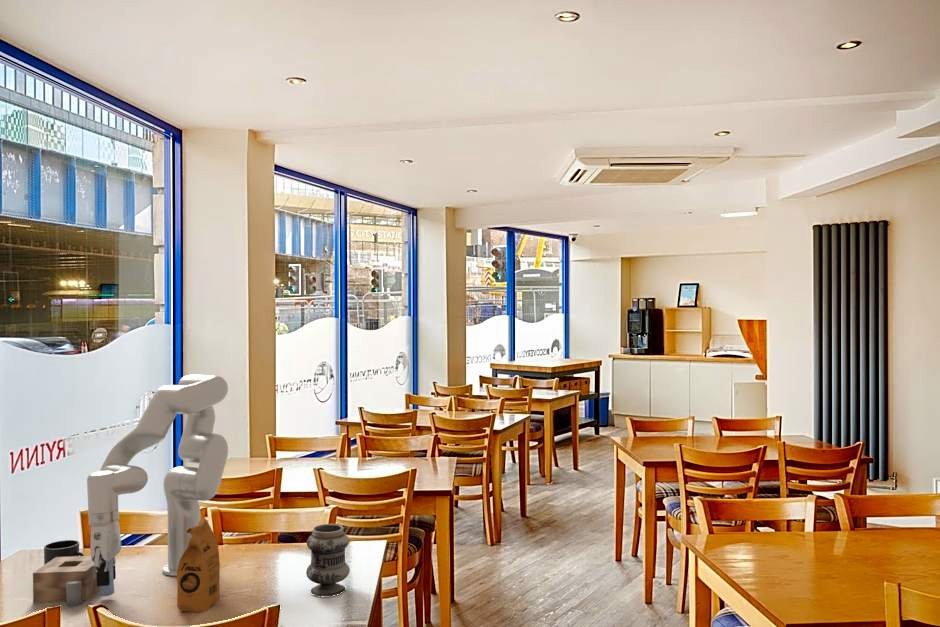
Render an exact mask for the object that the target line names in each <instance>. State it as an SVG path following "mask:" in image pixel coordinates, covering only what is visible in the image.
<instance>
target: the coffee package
mask: <svg viewBox="0 0 940 627" xmlns="http://www.w3.org/2000/svg"><path fill="white" fill-rule="evenodd" d="M187 533H191V536H192V537H191V539H190V541H189V544H188V547H187V549H186V550H185V552H184V553H183V555H182V557H181V558H180V561H179V564H178V569H177V576H176V580H177V581H176V584H177V595H176V596H177V599H176V600H177V602H176V606H177V608H178V611H179V612H181V613H182V612H189V613H193V612H195V613H200V612H201V613H204V612H203V611H205V612H208V610H210V608H211V606H214V605H215V604H217V603H218V601H219V598H220V596H221V594H220V593H221V592H220V591H221V590H220V577H221V576H220V575H221V574H220V569H221V564H220V563H221V562H220V552H219V551H220V550H219V543H218V539H217V536H216V534H215V532H214V531H213V530H212V528H211V526H210V524H209V523H208V521H207V518H205V517H203V518H200V521H199V526H195V527H192V528H189V529H188V530H187Z"/></svg>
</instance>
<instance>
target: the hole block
mask: <svg viewBox="0 0 940 627" xmlns="http://www.w3.org/2000/svg"><path fill="white" fill-rule="evenodd" d="M93 564H94V562H93V561H92V560H91V555H84V556H80V555H79V556H72V557H55V558H54V559H52V560H51V561H50V562H48V563H47V564H45V565H44V564H43V566H41V567H40V568H38V569H36V570H35V571H34V572H32V602H33V603H46V602H67V594H66V583H67V582H70V581H74V580H80V581H81V601H87V600H88V599H89V598H91V596H93V595H94V594H95V593H96V592H97V591H99V586H97V574H96V568H95V567H94V566H93Z"/></svg>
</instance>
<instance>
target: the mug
mask: <svg viewBox="0 0 940 627" xmlns="http://www.w3.org/2000/svg"><path fill="white" fill-rule="evenodd" d="M43 554H44V555H43V558H44V559H43V566H44V565H45V564H47V563H48V562H50V561H51V560H52V559H54V558H55V557H72V556H85V555H84V553H82V552H81V551H80V542H79V541H78V540H73V539H68V540H67V539H66V540H58V541H57V540H56V541H54V542H50V543H47V544H45V546H44V548H43Z"/></svg>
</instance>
